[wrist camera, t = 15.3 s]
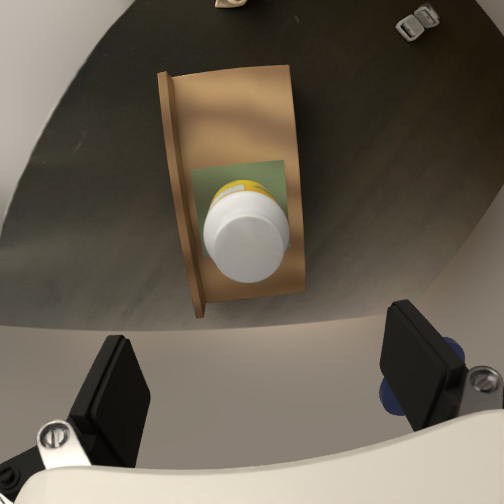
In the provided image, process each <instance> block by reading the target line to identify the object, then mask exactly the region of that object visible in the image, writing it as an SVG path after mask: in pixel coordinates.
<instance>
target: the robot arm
mask: <svg viewBox="0 0 504 504" xmlns="http://www.w3.org/2000/svg"><path fill="white" fill-rule="evenodd" d="M465 365H466V364H465V363H464V361H463V360H462V359H461V358H460V357H459V356H458V354H457V353H456V352H455V351H454V350H453V349H452V347H451V346H450V345H449V344H448V343H447V342H446V341H445V339H444V338H443V337H442V336H441V335H440V334H439V333H438V332H437V330H436V329H435V328H434V327H433V326H432V325H431V324H430V323H429V322H428V320H427V319H425V317H424V316H423V315H422V314H421V313H420V312H419V311H418V310H417V309H416V307H415V306H414V305H413V304H412V303H411V302H410V301H409V300H407V299H405V300H400V301H395V302H393V303H392V304H391V306H390V307H388V309H387V317H386V325H385V332H384V339H383V346H382V352H381V358H380V369H381V372H382V373H383V375H384V377H385V379H386V381H387V383H388V384H389V386H390V388H391V390H392V392H393V393H394V395H395V397H396V399H397V401H398V403H399V404H400V406H401V408H402V410H403V412H404V414H405V415H406V417H407V419H408V421H409V423H410V425H411V427H412V429H413V431H414V433H411V434H407V435H404V436H401V437H398V438H394V439H391V440H388V441H384V442H381V443H377V444H374V445H370V446H366V447H362V448H358V449H354V450H350V451H346V452H342V453H337V454H332V455H327V456H322V457H317V458H312V459H306V460H300V461H294V462H287V463H280V464H272V465H264V466H253V467H242V468H229V469H209V470H162V469H138V468H135V465H136V460H137V456H138V451H139V447H140V442H141V438H142V433H143V429H144V425H145V421H146V416H147V412H148V408H149V404H150V391H149V389H148V386H147V384H146V381H145V379H144V376H143V374H142V371H141V369H140V366H139V364H138V361H137V359H136V356H135V353H134V351H133V348H132V345H131V342H130V340H129V339H125V337H124V336H123V335H109V336H107V338H106V340H105V341H104V343H103V345H102V347H101V349H100V351H99V353H98V355H97V357H96V359H95V361H94V363H93V365H92V367H91V369H90V371H89V373H88V375H87V377H86V379H85V381H84V383H83V385H82V387H81V389H80V392H79V393H78V396H77V398H76V400H75V402H74V404H73V406H72V408H71V411H70V413H69V416H68V418H67V420H66V421H65V420H61V419H57V420H52V421H49V422H47V423H45V424H44V425H43V426H42V427H41V428H40V429H39V431H38V432H37V435H36V443H37V445H36V446H35V447H33V448H31V449H29V450H27V451H25V452H23V453H21V454H20V455H17V456H15V457H13V458H11V459H9V460H8V461H5V462H3V463H2V464H0V504H504V386H503V378H502V377H501V375H500V374H499V373H498V372H497V371H496V370H494V369H493V368H491V367H487V366H476V367H473V368H471V369H470V370H468V368H467V367H466V366H465Z"/></svg>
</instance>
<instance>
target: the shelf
mask: <svg viewBox="0 0 504 504" xmlns="http://www.w3.org/2000/svg"><path fill="white" fill-rule="evenodd" d="M158 84H159V94H160V103H161V112H162V121H163V129H164V137H165V145H166V152H167V159H168V166H169V173H170V180H171V187H172V193H173V199H174V205H175V211H176V217H177V223H178V229H179V235H180V240H181V246H182V251H183V256H184V261H185V267H186V272H187V277H188V282H189V287H190V291H191V296H192V301H193V306H194V310H195V315H196V318H204V312H205V305H206V303H213V302H222V301H231V300H240V299H248V298H257V297H265V296H273V295H281V294H288V293H296V292H303V291H306V274H305V251H304V231H303V214H302V198H301V184H300V171H299V158H298V147H297V136H296V125H295V115H294V105H293V96H292V87H291V78H290V70H289V65H276V66H259V67H247V68H236V69H227V70H218V71H211V72H203V73H197V74H190V75H184V76H178V77H173V78H172V77H171V76H170V75H169V74H168V73H167V72H162V73H158ZM239 179H248V180H253V181H256V182H258V183H260V184H262V185H263V186H265V187H266V188H267V189H268V190H269V191H270V192H271V194H272V195H273V197H274V198H275V200H276V201H277V203H278V204H279V206H280V207H281V209H282V210H283V212H284V214H285V216H286V218H287V221H288V225H289V242H288V246H287V249H286V251H285V253H284V256H283V259H282V262H281V264H280V266H279V267H278V269H277V270H276V271H275V272H274V273H273V274H272V275H271V276H269V277H268V278H266V279H264V280H262V281H259V282H254V283H242V282H237V281H234V280H232V279H230V278H228V277H227V276H225V275H224V274H223V273H222V272H221V271H220V269H219V268H218V267H217V265H216V263H215V262H214V261H213V259H212V258H211V257H210V255H209V253H208V251H207V249H206V247H205V243H204V236H203V231H204V224H205V220H206V217H207V214H208V211H209V208H210V205H211V202H212V200H213V198H214V196H215V194H216V193H217V192H218V190H219V189H220V188H221V187H223V186H224V185H225V184H227V183H229V182H231V181H234V180H239Z"/></svg>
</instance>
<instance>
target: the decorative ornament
mask: <svg viewBox="0 0 504 504" xmlns="http://www.w3.org/2000/svg"><path fill="white" fill-rule="evenodd" d="M246 1H247V0H216V3H215V7H238V6H242V5H244V4H245V3H246Z"/></svg>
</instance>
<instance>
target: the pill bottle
mask: <svg viewBox="0 0 504 504" xmlns="http://www.w3.org/2000/svg"><path fill="white" fill-rule="evenodd" d="M203 236H204V243H205V247H206V249H207V251H208V253H209V255H210V257H211V258H212V259H213V261H214V262H215V263H216V265H217V267H218V268H219V269H220V271H221V272H222V273H223V274H224V275H225V276H227V277H228V278H230V279H232V280H234V281H237V282H242V283H254V282H259V281H262V280H264V279H266V278H268V277H269V276H271V275H272V274H273V273H274V272H275V271H276V270H277V269H278V267H279V266H280V264H281V262H282V259H283V256H284V253H285V251H286V249H287V246H288V242H289V225H288V221H287V218H286V216H285V214H284V212H283V210H282V209H281V207H280V206H279V204H278V203H277V201H276V200H275V198H274V197H273V195H272V194H271V192H270V191H269V190H268V189H267V188H266V187H265V186H263V185H262V184H260V183H258V182H256V181H253V180H248V179H239V180H234V181H231V182H229V183H227V184H225V185H224V186H223V187H221V188H220V189H219V190H218V192H217V193H216V194H215V196H214V198H213V200H212V202H211V205H210V208H209V211H208V214H207V217H206V220H205V224H204V231H203Z"/></svg>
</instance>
